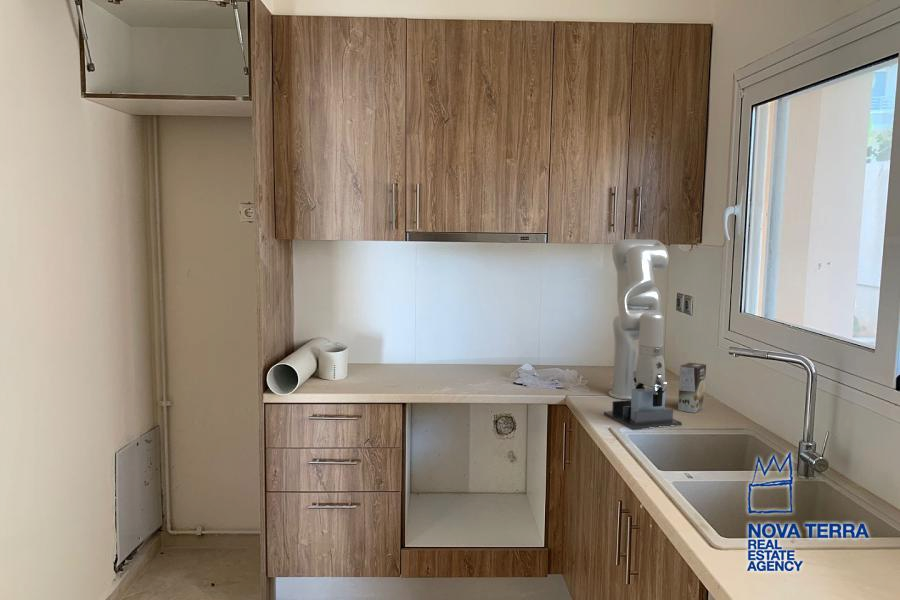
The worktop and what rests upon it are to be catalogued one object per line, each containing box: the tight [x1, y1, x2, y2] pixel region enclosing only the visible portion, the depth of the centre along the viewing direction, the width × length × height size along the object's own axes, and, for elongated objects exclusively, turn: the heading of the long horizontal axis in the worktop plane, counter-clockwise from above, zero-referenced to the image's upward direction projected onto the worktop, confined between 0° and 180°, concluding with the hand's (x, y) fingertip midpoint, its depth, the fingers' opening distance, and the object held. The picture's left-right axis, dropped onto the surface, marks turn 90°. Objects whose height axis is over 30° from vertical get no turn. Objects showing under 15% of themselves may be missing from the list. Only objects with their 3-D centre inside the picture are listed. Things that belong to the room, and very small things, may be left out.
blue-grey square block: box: [630, 387, 666, 420], centre depth 208 cm, size 10×4×10 cm, turn 107°
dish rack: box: [603, 399, 683, 431], centre depth 211 cm, size 18×18×5 cm
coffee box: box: [677, 362, 707, 414], centre depth 225 cm, size 9×6×16 cm
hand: (648, 402), depth 208 cm, fingers open, 9 cm apart
